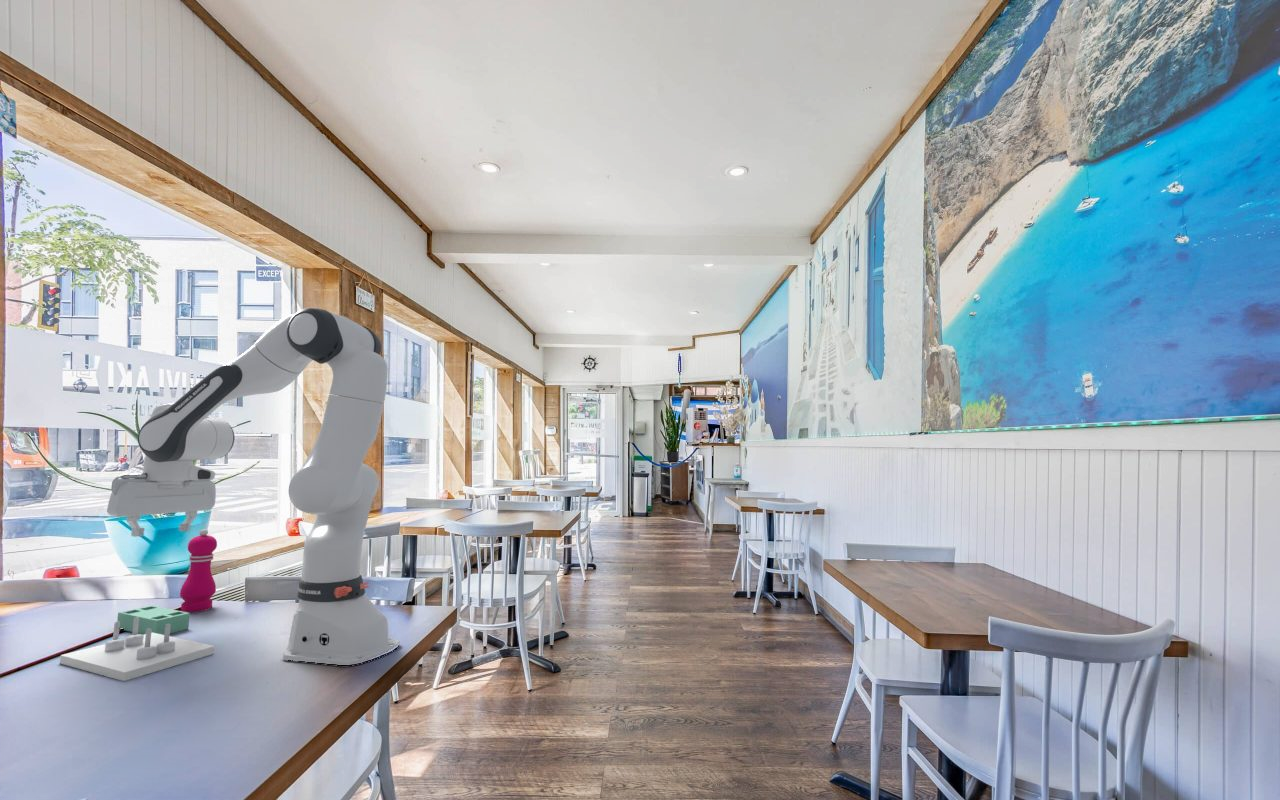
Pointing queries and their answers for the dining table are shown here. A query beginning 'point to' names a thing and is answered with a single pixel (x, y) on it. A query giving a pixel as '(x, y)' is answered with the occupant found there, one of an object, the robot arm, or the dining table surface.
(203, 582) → the pepper mill
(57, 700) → the dining table surface
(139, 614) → the green block with holes
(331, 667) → the dining table surface
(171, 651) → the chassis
